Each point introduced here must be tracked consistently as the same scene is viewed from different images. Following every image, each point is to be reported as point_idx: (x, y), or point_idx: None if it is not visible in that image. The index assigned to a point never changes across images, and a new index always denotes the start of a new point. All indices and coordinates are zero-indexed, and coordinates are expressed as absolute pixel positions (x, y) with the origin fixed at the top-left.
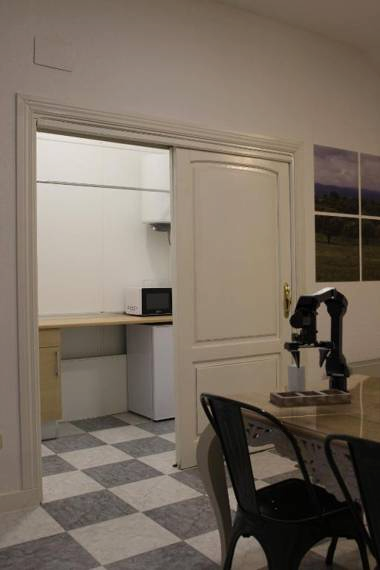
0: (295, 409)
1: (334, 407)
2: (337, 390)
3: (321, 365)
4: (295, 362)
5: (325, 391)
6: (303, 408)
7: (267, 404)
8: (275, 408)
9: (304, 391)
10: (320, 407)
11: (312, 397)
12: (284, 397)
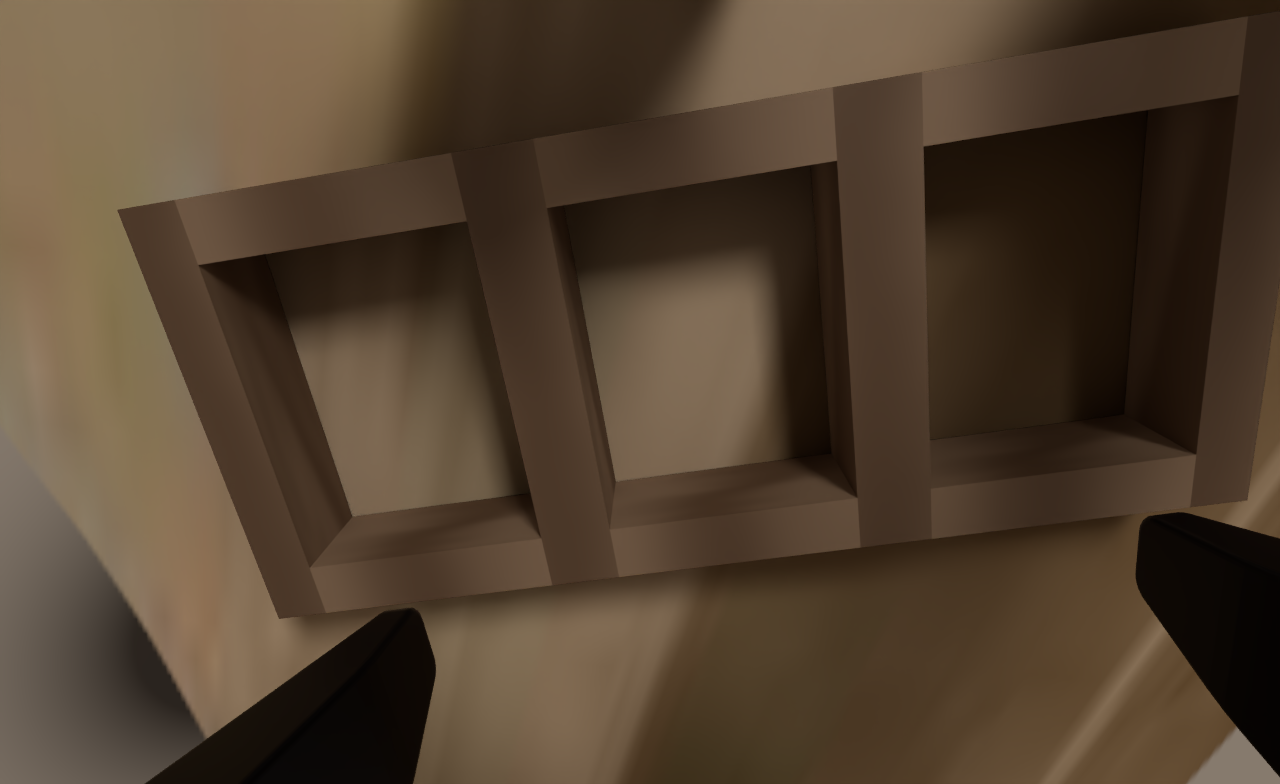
0: (448, 694)
1: (854, 663)
2: (1249, 169)
3: (1196, 656)
4: (236, 737)
5: (1050, 125)
6: (534, 667)
7: (170, 448)
8: (257, 636)
9: (678, 186)
10: (715, 647)
11: (678, 563)
12: (318, 582)
